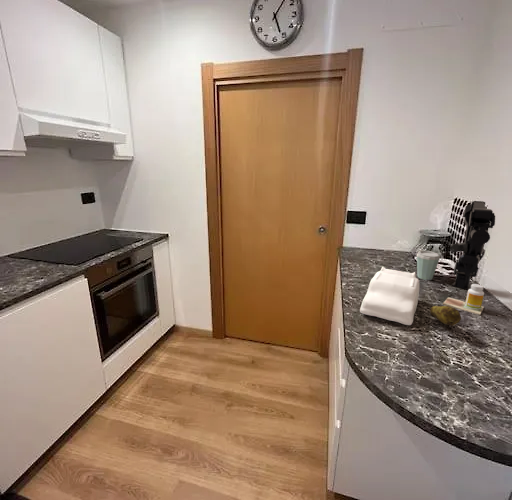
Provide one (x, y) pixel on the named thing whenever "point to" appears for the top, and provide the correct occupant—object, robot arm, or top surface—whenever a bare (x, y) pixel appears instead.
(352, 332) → the top surface
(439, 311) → the pear
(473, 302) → the supplement bottle
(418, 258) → the disposable coffee cup
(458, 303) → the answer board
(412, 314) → the white toy car
